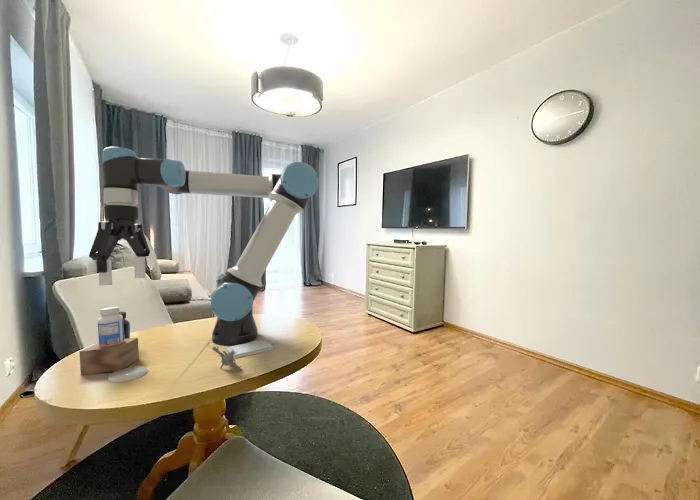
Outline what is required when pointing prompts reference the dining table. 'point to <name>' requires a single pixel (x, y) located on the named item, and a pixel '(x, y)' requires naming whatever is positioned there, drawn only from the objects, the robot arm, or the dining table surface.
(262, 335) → the dining table surface
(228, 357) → the grey cross-shaped piece
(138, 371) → the grey coaster
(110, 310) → the pill bottle
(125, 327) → the supplement bottle
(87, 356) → the walnut block
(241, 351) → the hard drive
